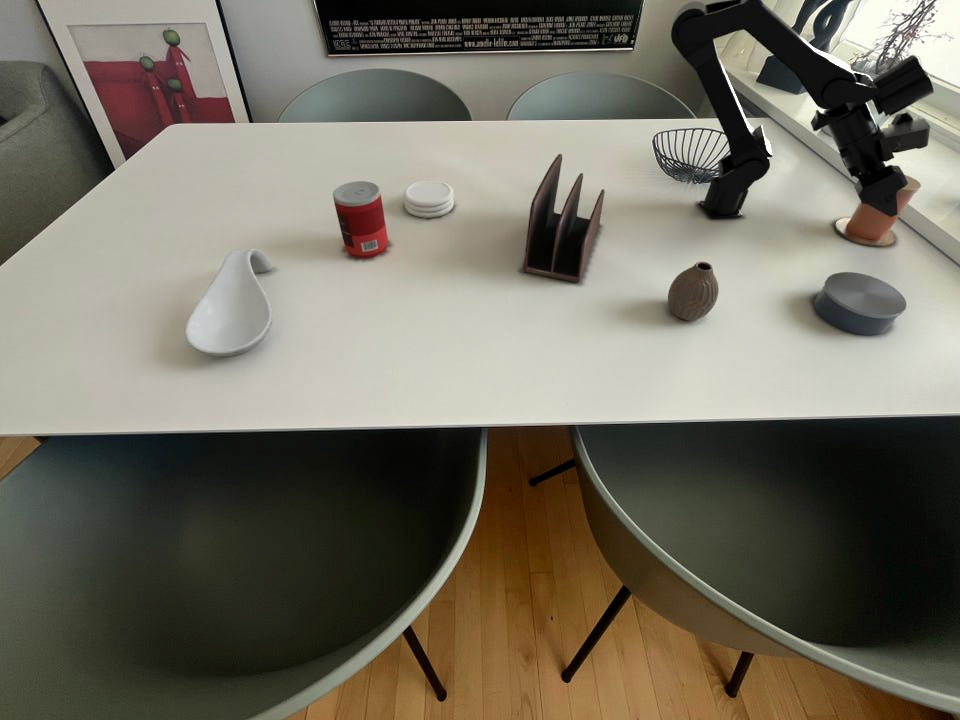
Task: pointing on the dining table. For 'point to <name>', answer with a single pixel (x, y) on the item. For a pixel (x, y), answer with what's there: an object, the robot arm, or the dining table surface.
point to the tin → (859, 303)
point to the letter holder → (559, 230)
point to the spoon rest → (232, 308)
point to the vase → (693, 292)
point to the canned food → (361, 219)
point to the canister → (880, 214)
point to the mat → (847, 234)
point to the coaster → (428, 199)
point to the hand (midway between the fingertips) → (887, 203)
